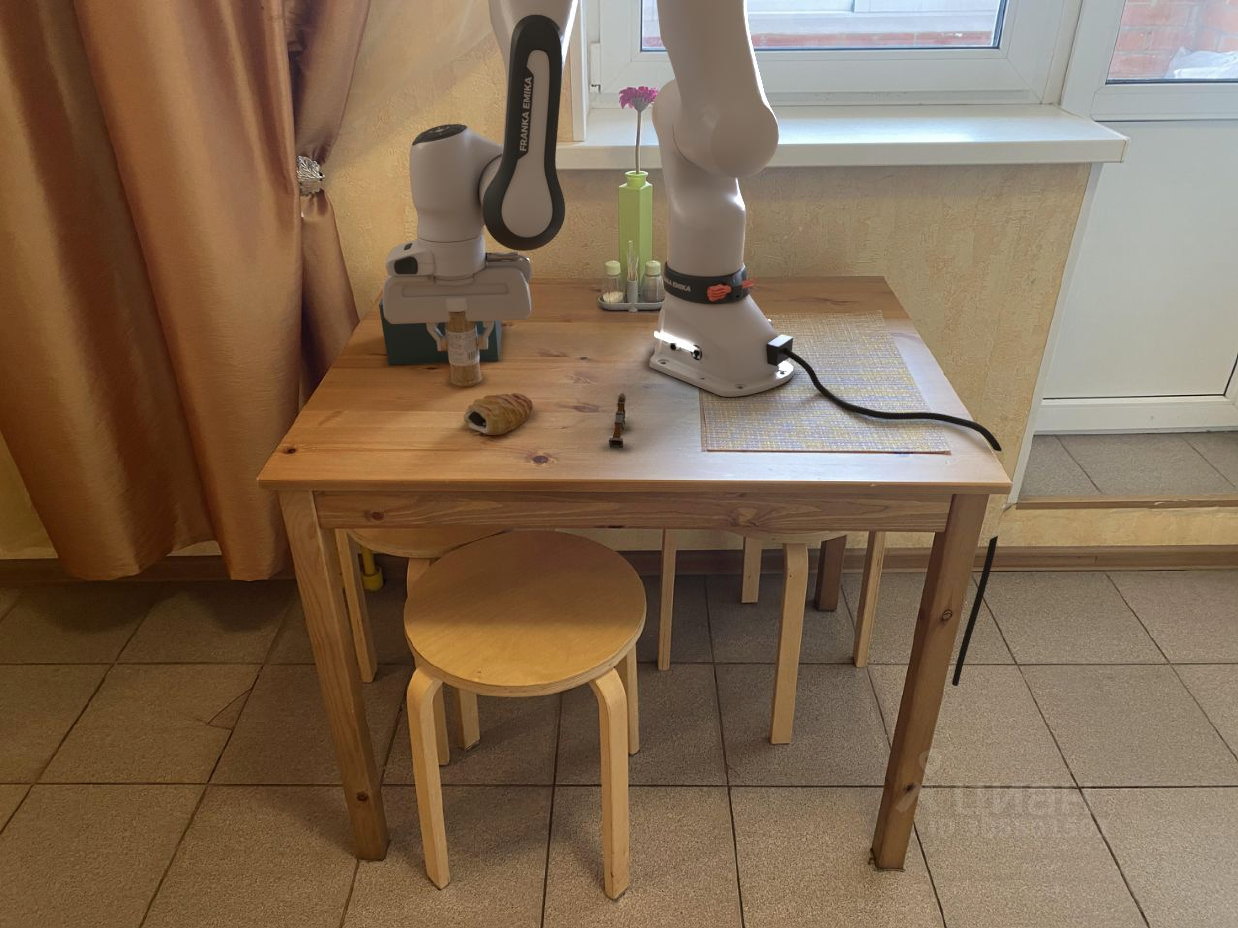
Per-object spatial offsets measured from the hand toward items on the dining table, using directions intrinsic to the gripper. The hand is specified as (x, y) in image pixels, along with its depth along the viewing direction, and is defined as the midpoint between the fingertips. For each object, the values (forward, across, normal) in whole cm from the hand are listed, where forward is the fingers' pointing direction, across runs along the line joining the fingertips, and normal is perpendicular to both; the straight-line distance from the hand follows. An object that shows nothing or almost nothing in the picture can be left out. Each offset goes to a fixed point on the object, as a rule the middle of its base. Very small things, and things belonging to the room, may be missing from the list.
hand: (463, 348), depth 126 cm
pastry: (+5, -5, +13) cm, 15 cm away
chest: (+5, +4, -13) cm, 14 cm away
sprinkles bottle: (+5, 0, 0) cm, 5 cm away
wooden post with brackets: (+5, -21, +18) cm, 28 cm away
